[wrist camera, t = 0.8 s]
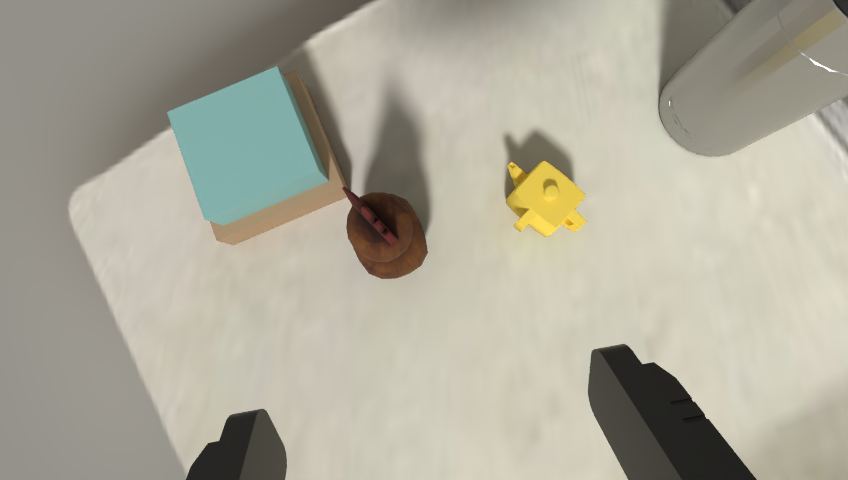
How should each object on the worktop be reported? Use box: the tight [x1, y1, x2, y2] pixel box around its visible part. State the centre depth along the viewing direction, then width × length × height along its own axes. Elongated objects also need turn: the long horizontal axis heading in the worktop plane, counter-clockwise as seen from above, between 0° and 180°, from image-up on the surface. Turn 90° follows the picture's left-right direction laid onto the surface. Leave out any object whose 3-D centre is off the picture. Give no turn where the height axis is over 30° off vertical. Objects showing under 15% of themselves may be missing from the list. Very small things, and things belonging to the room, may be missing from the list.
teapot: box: [506, 160, 586, 237], centre depth 37 cm, size 8×6×5 cm
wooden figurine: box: [342, 186, 428, 279], centre depth 32 cm, size 7×6×15 cm
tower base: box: [167, 66, 348, 245], centre depth 38 cm, size 12×12×6 cm
